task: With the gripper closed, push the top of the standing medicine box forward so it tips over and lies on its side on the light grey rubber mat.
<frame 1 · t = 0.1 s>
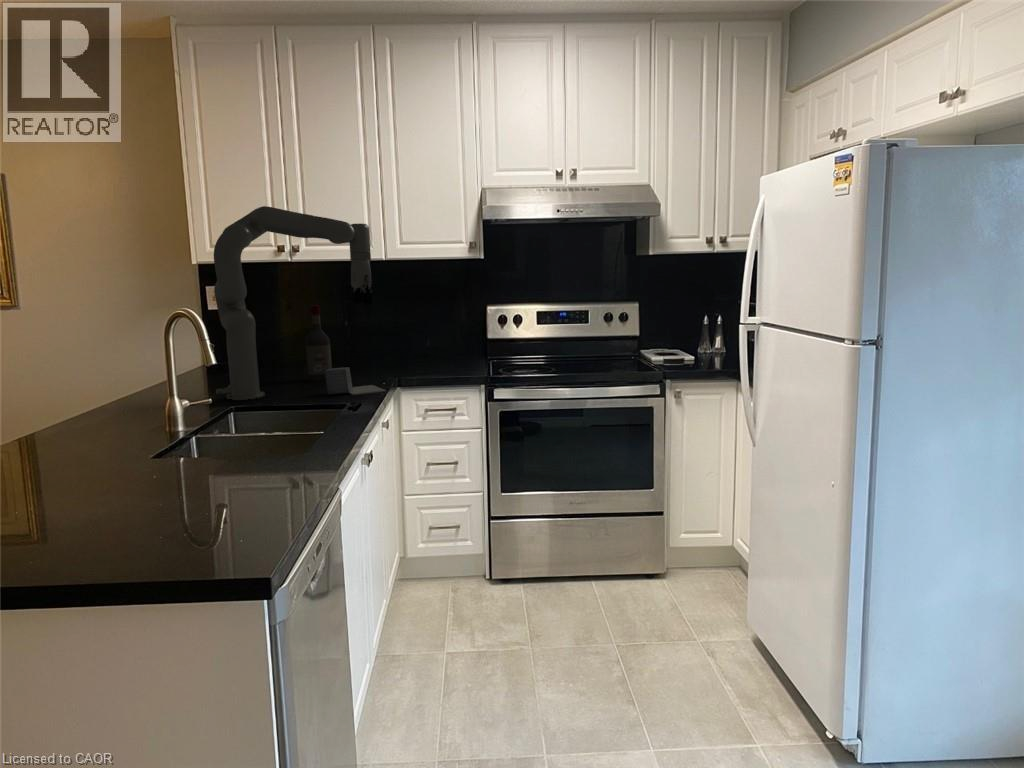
hand: (363, 303, 263), 31 cm above the table, fingers open, 9 cm apart
liquor: (320, 380, 281), on the table
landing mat: (363, 390, 254), on the table
medicine box: (340, 393, 249), on the table, touching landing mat
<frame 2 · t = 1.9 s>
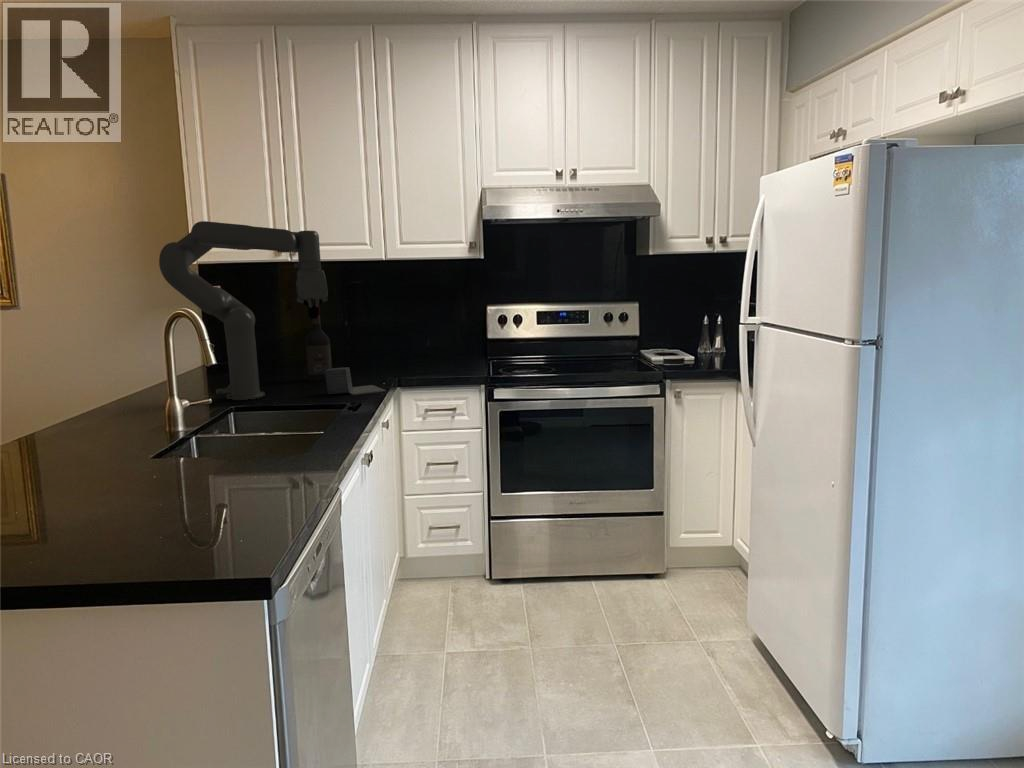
hand: (313, 318, 248), 27 cm above the table, fingers closed
nothing on the table moved.
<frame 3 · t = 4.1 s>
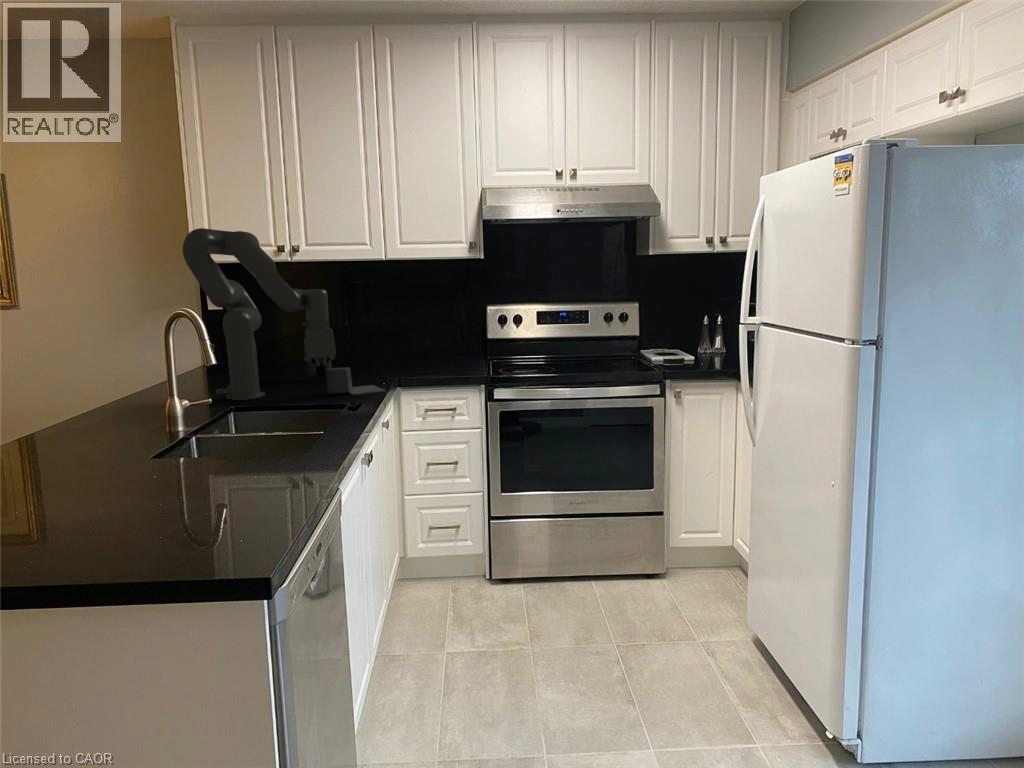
hand: (321, 376, 245), 7 cm above the table, fingers closed
medicine box: (340, 392, 249), on the table, touching gripper, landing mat
everything else where it was.
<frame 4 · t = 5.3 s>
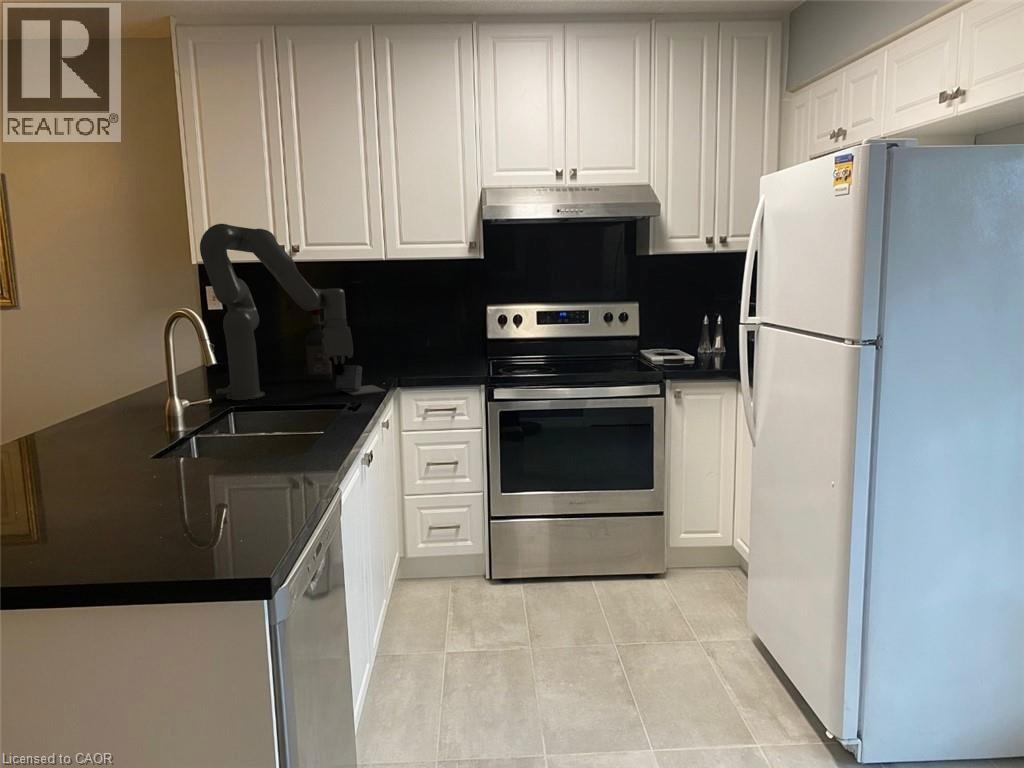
hand: (339, 374, 248), 7 cm above the table, fingers closed
medicine box: (348, 389, 250), point 1 cm above the table, touching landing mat
everything else where it was.
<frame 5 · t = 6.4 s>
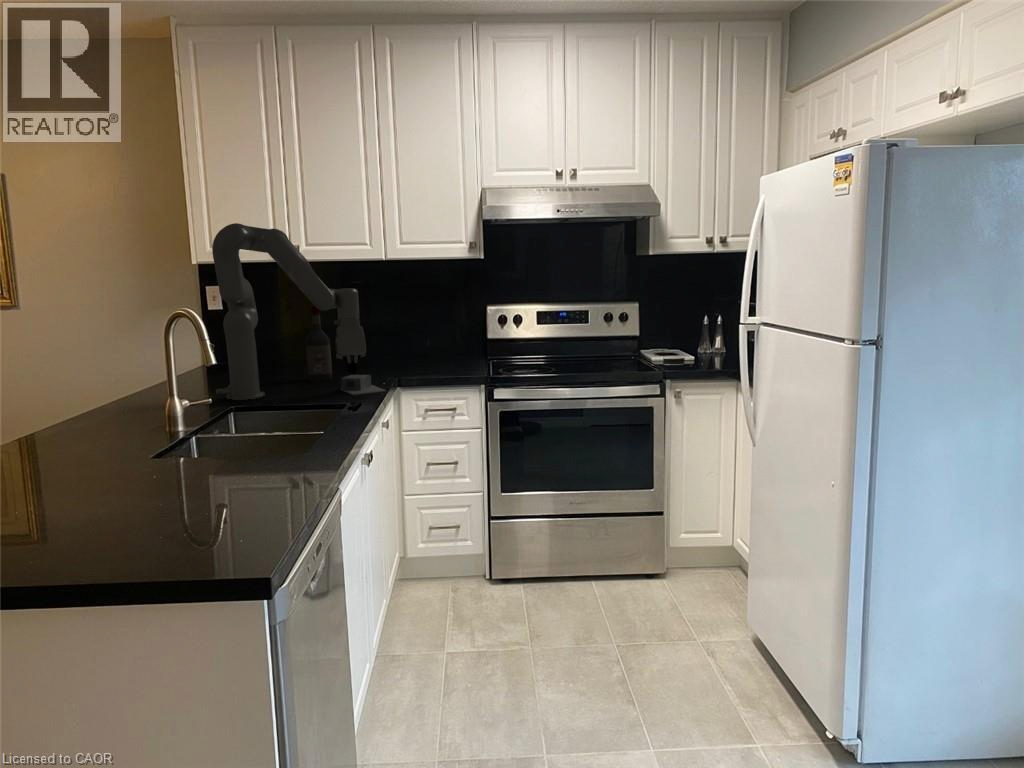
hand: (352, 373, 251), 7 cm above the table, fingers closed
medicine box: (350, 384, 252), point 3 cm above the table, touching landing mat
everything else where it was.
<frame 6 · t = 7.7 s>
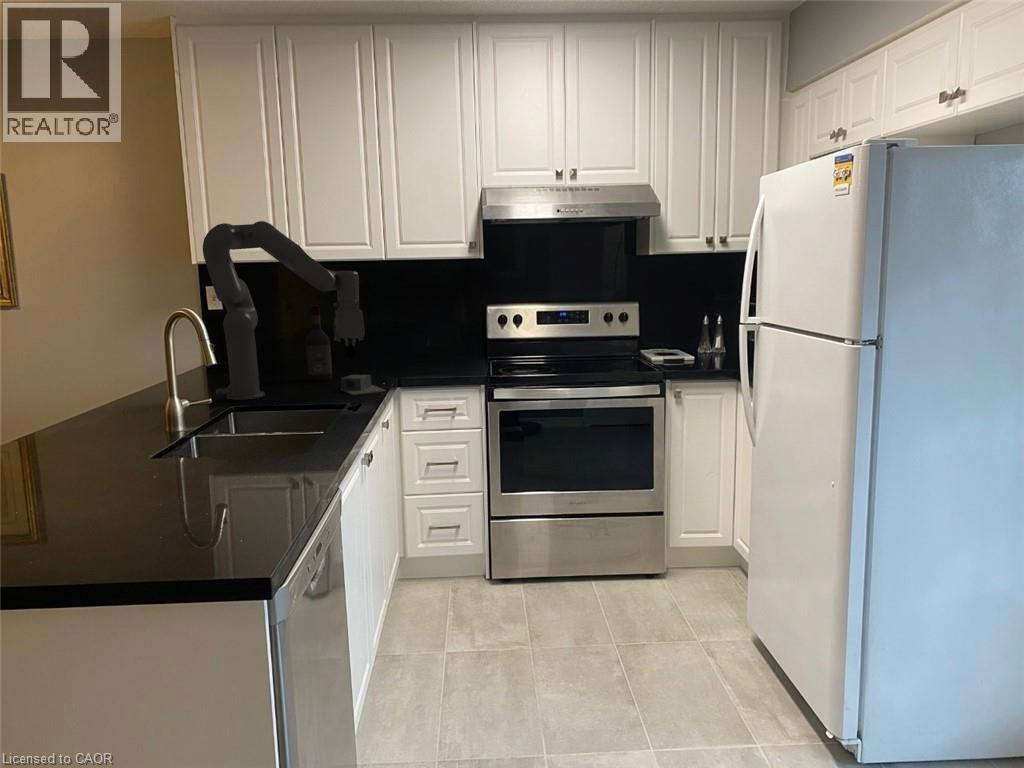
hand: (349, 356, 250), 13 cm above the table, fingers closed
nothing on the table moved.
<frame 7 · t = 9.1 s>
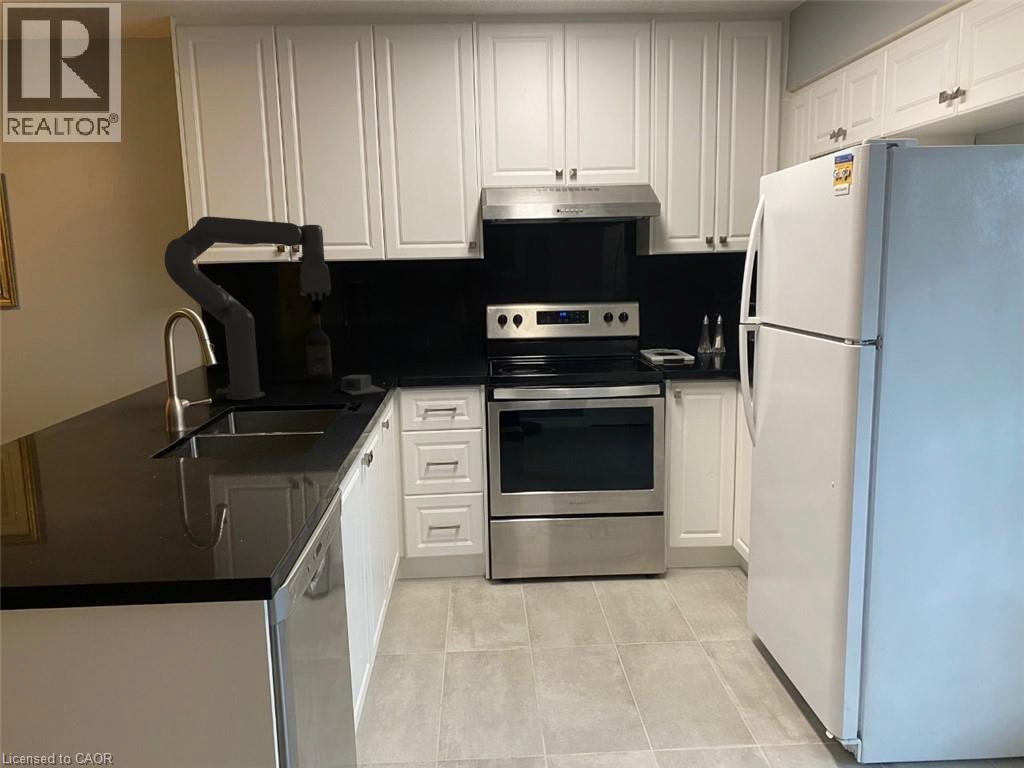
hand: (316, 311, 250), 29 cm above the table, fingers closed
nothing on the table moved.
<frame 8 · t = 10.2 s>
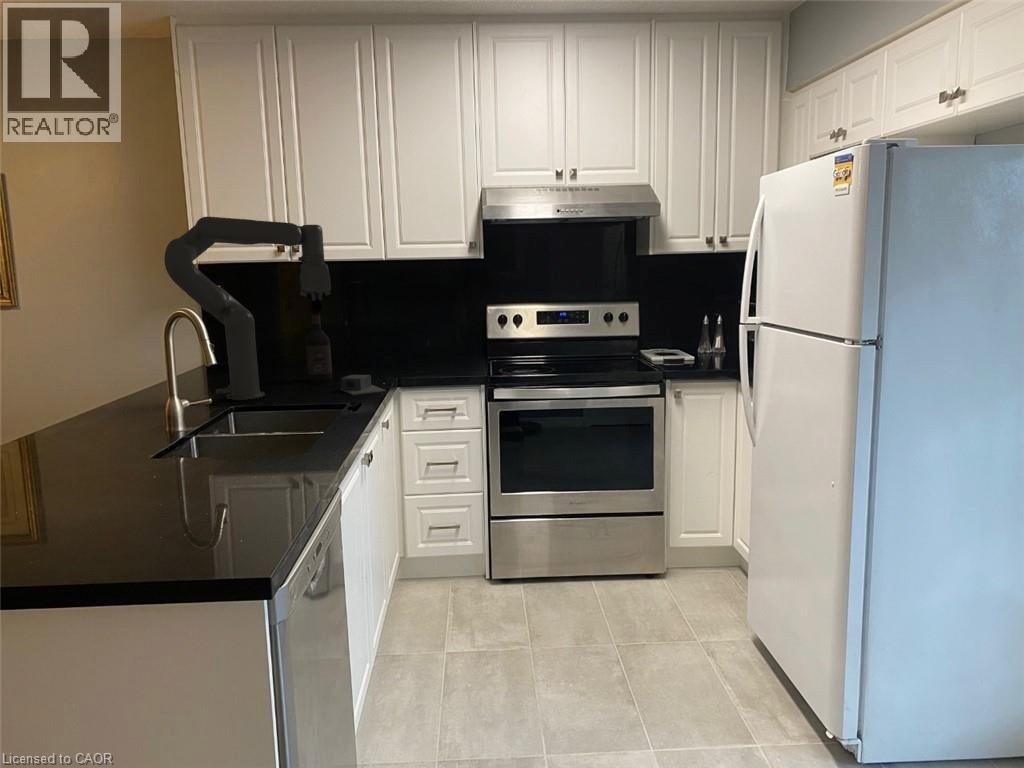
hand: (316, 311, 250), 29 cm above the table, fingers closed
nothing on the table moved.
at the end: medicine box tilted 90°; medicine box inside the target area (2.5 cm from its centre), point 2.7 cm above the table; medicine box touching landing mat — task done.
